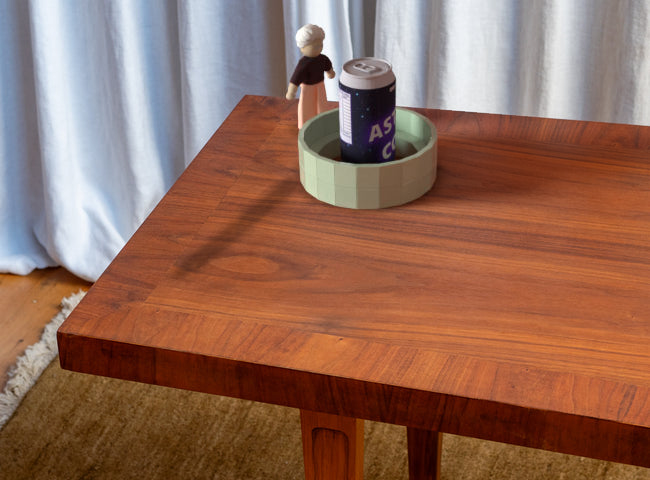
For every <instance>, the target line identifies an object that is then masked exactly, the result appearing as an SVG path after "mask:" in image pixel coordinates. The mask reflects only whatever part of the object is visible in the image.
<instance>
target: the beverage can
mask: <svg viewBox="0 0 650 480" xmlns="http://www.w3.org/2000/svg"><path fill="white" fill-rule="evenodd" d="M341 70H342V71H341V73H340V74H339V77H338V108H339V116H340V149H341V156H340V162H344V163H351V164H380V163H386V162H392V161H396V155H395V133H396V106H397V77H396V75H395V72H393V65H392V63H391V62H390V61H388V60H386V59H384V58H380V57H372V56H367V57H366V56H365V57H357V58H353V59H350V60H348V61H346V62H345V63H343V65H342V66H341Z"/></svg>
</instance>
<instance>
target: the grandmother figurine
mask: <svg viewBox="0 0 650 480" xmlns="http://www.w3.org/2000/svg"><path fill="white" fill-rule="evenodd" d="M294 37H295V42H296V46H297V47H298V48H299V49H300V51H301V53H302V54H303V56H302V57H301V58H299V60H298V62H297V64H296V66H295V68H294V70H293V73H292V75H291V77H290V80H289V84H288V89H287V90H288V91H287V92H286V95H285V97H286V99H287V100H288V101H294V100H295V99H296V93H297V92H298V91H299V87H300V89H301V90H300V95H299V101H298V107H297V116H298V117H297V121H298V122H297V123H298V124H297V127H298V129H299V130H300V129H301V127H302V126H303V125H304V124H305V123H306V121H308V120H310V119H311V118H313V117H315V116H316V115H318V114H320V113H323V112H326V111H329V110H330V108H329V103H328V96H327V90H326V84H325V74H326V78H328V79H329V80H332V79H335V77H336V75H337V74H336V71H335V70H334V66H333V62H332V61H331V59H330V58H329V56H327V55H326V54H324V53H322V52H323V50H324V40H325V39H326V32H325V30H324V29H323V28H322V27H320V26H319V25H317V24H312V23H307V24H305V25H304V26H302V27H301V28H299V29H298V30H297V31H296V34H295V36H294Z"/></svg>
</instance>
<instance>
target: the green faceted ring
mask: <svg viewBox="0 0 650 480" xmlns="http://www.w3.org/2000/svg"><path fill="white" fill-rule="evenodd" d="M438 141H439V136H438V130H437V126H436V125H435V124H434V123H433V122H432V121H431V120H430V119H429V117H427V116H424V115H422V114H421V113H419V112H417V111H415V110H412V109H408V108H404V107H401V106H397V105H396V133H395V156H398V157H401V158H402V159H398V160H395V161H392V162H386V163H380V164H351V163H344V162H341V161H337V160H334V159H336V158H339V157H341V149H340V116H339V107H336V108H332V109H329V111H326V112H323V113H320V114H318V115H316V116H315V117H313V118H311V119H310V120H308V121H306V123H305V124H304V125H303V126H302V127H301V129H299V130H298V136H297V148H298V163H299V178H300V179H299V181H300V183H301V184H302V186H303V188H304V189H305V191H306V192H307V193H308V194H310V195H311V196H313V198H315V199H316V200H318V201H321V202H324V203H327V204H330V205H332V206H335V207H341V208H347V209H354V210H380V209H387V208H391V207H397V206H401V205H405V204H407V203H410V202H412V201H414V200H418V199H419V198H421V197H422V196H423V195H424V194H426V193H427V192H429V190H431V189H432V187H433V186H434V183H435V181H436V179H437V169H438V168H437V167H438V165H437V163H438V144H439V143H438Z"/></svg>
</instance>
